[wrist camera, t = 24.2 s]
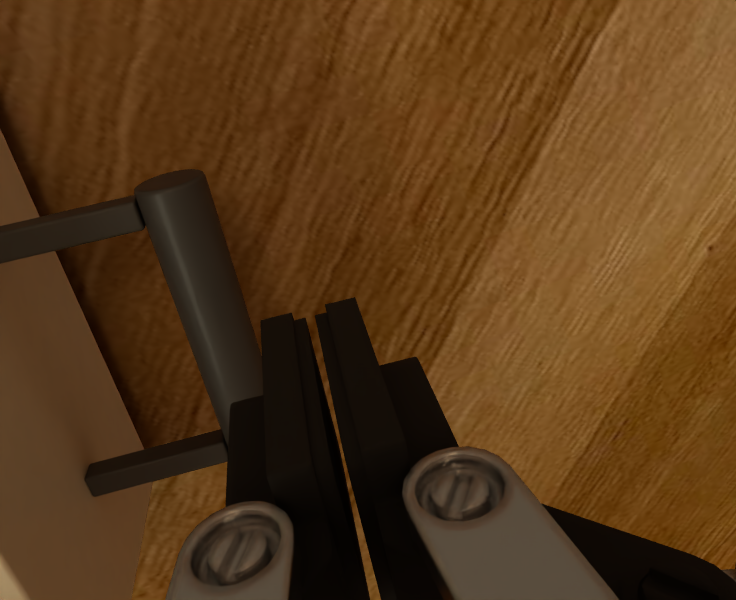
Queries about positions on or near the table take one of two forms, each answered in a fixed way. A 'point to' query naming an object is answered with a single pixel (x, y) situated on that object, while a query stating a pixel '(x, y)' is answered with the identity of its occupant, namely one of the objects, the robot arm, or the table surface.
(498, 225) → the table surface
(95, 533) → the drawer
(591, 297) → the table surface
